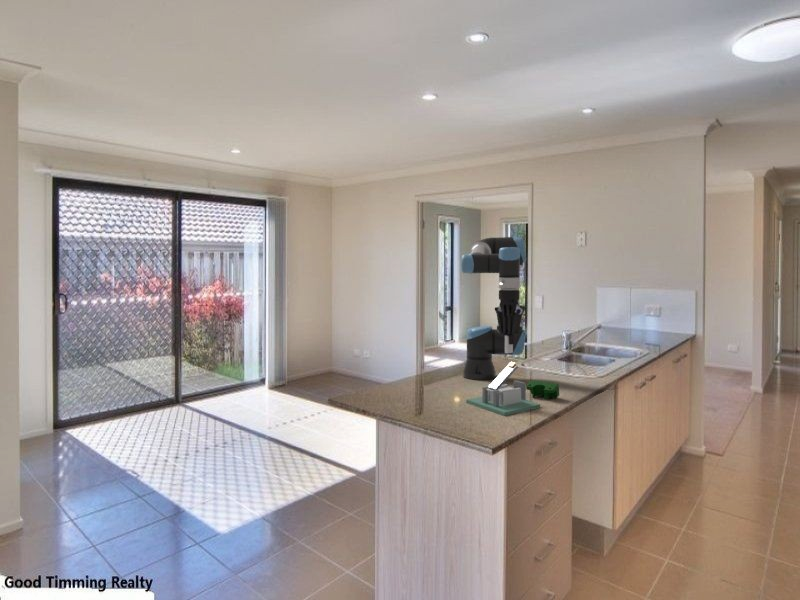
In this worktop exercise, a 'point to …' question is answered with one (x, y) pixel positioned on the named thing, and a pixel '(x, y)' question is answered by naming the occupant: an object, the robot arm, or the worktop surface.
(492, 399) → the board
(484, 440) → the worktop surface
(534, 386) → the clamp
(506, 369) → the grey flat bar
